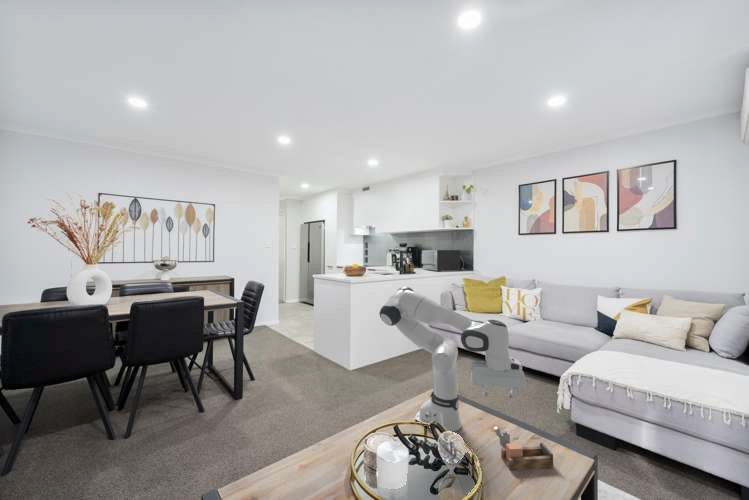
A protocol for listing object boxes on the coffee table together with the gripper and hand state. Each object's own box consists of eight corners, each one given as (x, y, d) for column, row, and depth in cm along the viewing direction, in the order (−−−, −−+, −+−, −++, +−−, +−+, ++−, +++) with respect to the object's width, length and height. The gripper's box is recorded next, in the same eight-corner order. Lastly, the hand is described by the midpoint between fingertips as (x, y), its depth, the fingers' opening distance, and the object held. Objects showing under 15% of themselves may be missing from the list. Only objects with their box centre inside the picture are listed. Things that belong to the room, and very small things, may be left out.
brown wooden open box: (510, 470, 117) (509, 456, 117) (501, 458, 124) (501, 445, 124) (553, 468, 118) (553, 454, 118) (542, 456, 125) (542, 442, 125)
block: (510, 464, 119) (510, 449, 119) (506, 458, 122) (505, 443, 122) (522, 464, 119) (522, 448, 119) (518, 458, 122) (518, 443, 122)
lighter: (507, 441, 134) (507, 423, 134) (510, 443, 133) (509, 425, 133) (493, 444, 132) (493, 426, 132) (496, 447, 131) (496, 428, 131)
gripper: (470, 362, 121) (471, 397, 121) (526, 366, 117) (527, 402, 117) (469, 357, 127) (469, 390, 127) (522, 360, 123) (523, 394, 123)
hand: (497, 396), depth 122 cm, fingers open, 8 cm apart
